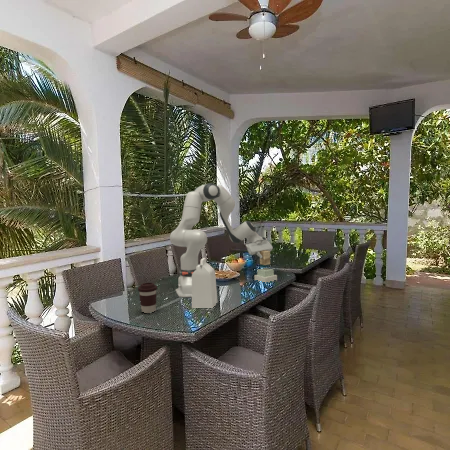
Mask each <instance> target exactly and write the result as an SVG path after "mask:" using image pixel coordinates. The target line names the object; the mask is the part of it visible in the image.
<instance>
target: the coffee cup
mask: <svg viewBox="0 0 450 450" xmlns="http://www.w3.org/2000/svg"><path fill="white" fill-rule="evenodd" d="M157 290H158V286H157V284H155V283H154V282H142V283H141V284H140V286H138V287H137V291H138V292H139V294H138V295H139V296H138V297H139V302H140V304H139V305H140V308H141V313H142V312H144V313H150V312H154V311H155V312H156V309H157ZM155 312H154V313H155ZM144 313H143V314H144ZM150 314H151V313H150Z"/></svg>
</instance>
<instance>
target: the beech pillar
mask: <svg viewBox="0 0 450 450" xmlns="http://www.w3.org/2000/svg"><path fill="white" fill-rule="evenodd" d="M260 254H261V255H263V258H260V257H259V265H263V266H267V265H271V251H266V250H265V251H260Z"/></svg>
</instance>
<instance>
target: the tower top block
mask: <svg viewBox="0 0 450 450" xmlns="http://www.w3.org/2000/svg"><path fill="white" fill-rule="evenodd" d="M256 271H257V274H256V275H259V276H262V277H268V276H273V275H275V270H274V269H272V268H268V267H264V268H263V267H262V268H260V269H256Z"/></svg>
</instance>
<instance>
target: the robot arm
mask: <svg viewBox="0 0 450 450" xmlns="http://www.w3.org/2000/svg"><path fill="white" fill-rule="evenodd" d="M211 200H213V201H215V203H216V204H217V206H218V207H219V213H218V214H219V217H220V219H221V221H222V223H223V226H224V228H225V229H226V231H227V233H228V235H229V239H230V240H231V242H232V243H234V244H241V242H243V240H244V239H247V243H245V247H246V249H247V253H248V254H249V255H251V256H253V255H257V257H259V259H260V258H263V255H261V254H260V251H265V250H266V251H270V252H272V251H273V249H274V248H273V245H272V244H271V242H269V240H268V238H267V237H265V236H260V235H259V234H258V233H257V228H256V227H255V226H254V224H253V223H252V221H249V220H246V221H244V222H242V223H240V224H239V225H238V226H236V228H234V229H233V227H232V225H231V224H230V221H229V217H230V215H231V214H232V212H233V211H234V208H235V206H236V202H235V199H234V197H233V196H232V195H231V194H230V192H229V191H228V190H227V189H226V188H225V187H224V186H223V185H219V184H218V185H216V184H214V183H212V182H210V183H206V184H202V185H200V186H197V187H196V188H195V189H194V190H192V191H189V192H187V193H186V196H185V198H184V202H183V207H182V209H183V210H182V216H181V220H180V222H179V224H178V226H177V227H176V228H175V229H173V230H172V231H171V233H170V235H169V240H170V243H171V245H173V246H176V247H182V248H186V251H185V252H184V253H182V254H181V256H180V259H179V260H180V270H179V272H180V273H179V274H180V275H179V277H178V283H177V287H178V288H176V289H175V292H176V294H177V295H178V297H179V298H192V273H193V272H194V271H195V270H196V267H197V266H198V265H199V254H200V253H201V250H202V248H204V247H205V245H206V244H207V242H208V236H207V233H206V232H205V231H203V230H199V229H193V227H194V226H195V225H197V224H198V223H199V222H200V217H201V209H202V203H204V202H210V201H211Z"/></svg>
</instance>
